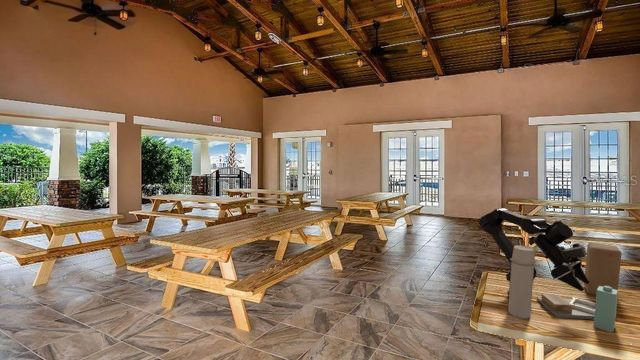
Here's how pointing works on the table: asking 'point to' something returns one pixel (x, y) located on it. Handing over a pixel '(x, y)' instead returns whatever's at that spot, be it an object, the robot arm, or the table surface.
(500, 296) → the table surface
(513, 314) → the water bottle
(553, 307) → the walnut base slab
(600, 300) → the teal post
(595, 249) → the wooden block
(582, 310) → the baseboard
